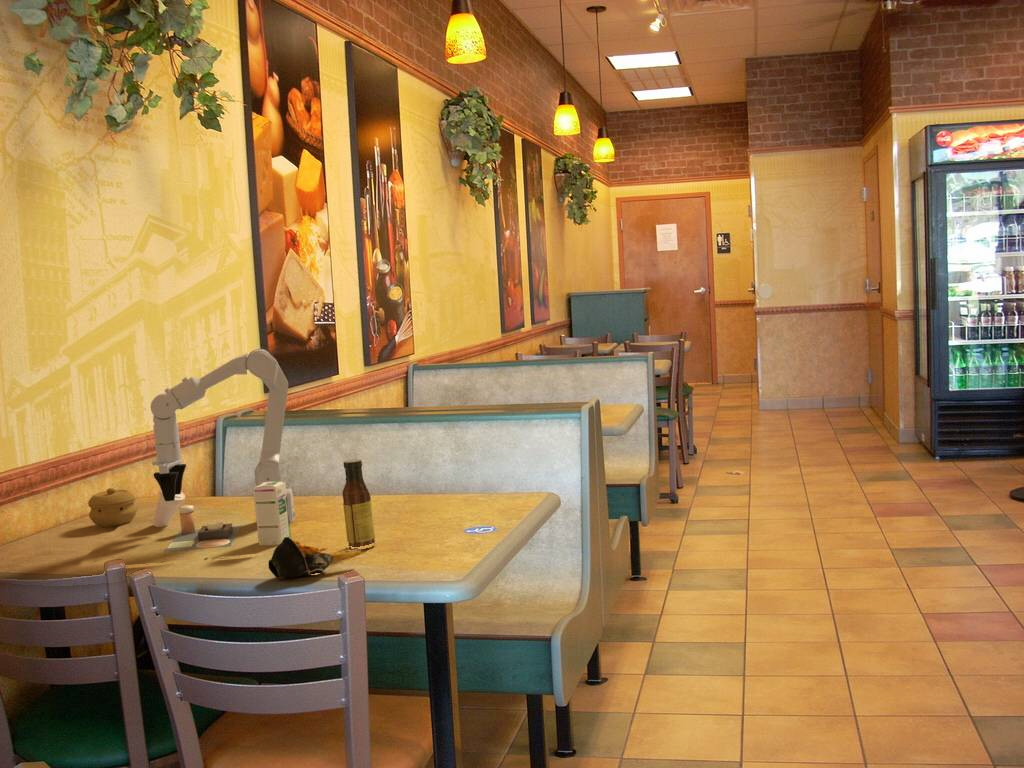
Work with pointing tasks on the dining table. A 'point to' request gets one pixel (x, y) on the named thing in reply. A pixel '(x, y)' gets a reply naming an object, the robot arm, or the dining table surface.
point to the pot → (112, 508)
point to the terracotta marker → (187, 519)
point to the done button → (215, 526)
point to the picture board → (192, 541)
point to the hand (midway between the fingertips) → (173, 497)
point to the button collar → (215, 533)
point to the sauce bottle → (357, 506)
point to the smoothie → (166, 509)
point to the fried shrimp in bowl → (303, 559)
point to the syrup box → (271, 512)
